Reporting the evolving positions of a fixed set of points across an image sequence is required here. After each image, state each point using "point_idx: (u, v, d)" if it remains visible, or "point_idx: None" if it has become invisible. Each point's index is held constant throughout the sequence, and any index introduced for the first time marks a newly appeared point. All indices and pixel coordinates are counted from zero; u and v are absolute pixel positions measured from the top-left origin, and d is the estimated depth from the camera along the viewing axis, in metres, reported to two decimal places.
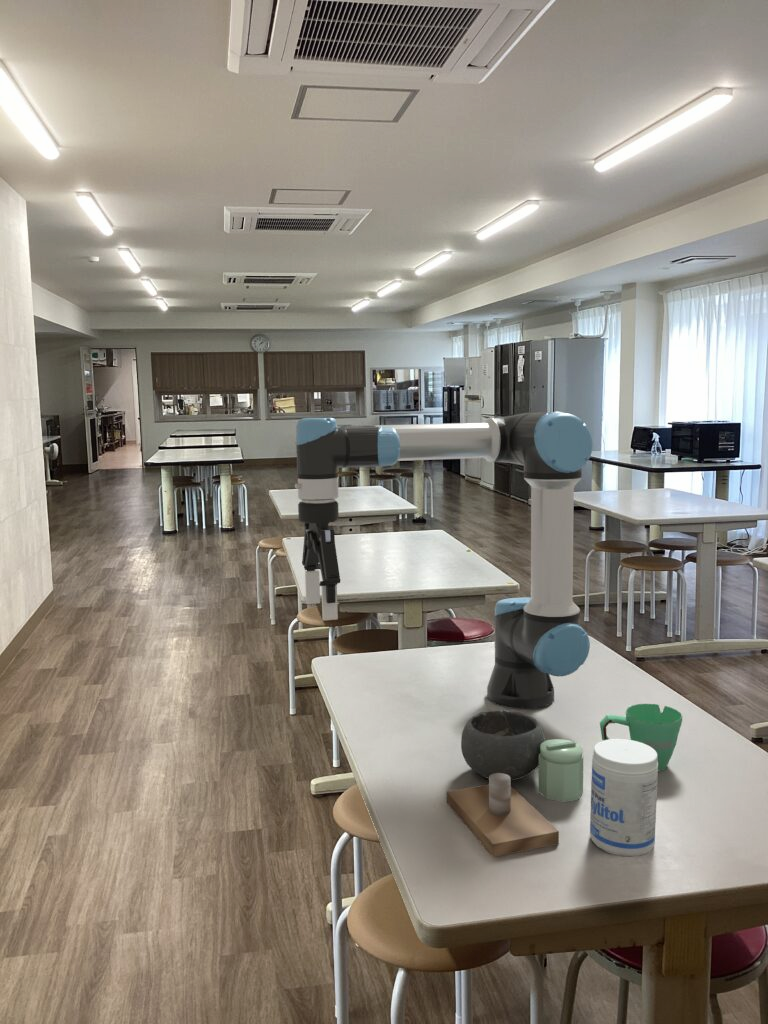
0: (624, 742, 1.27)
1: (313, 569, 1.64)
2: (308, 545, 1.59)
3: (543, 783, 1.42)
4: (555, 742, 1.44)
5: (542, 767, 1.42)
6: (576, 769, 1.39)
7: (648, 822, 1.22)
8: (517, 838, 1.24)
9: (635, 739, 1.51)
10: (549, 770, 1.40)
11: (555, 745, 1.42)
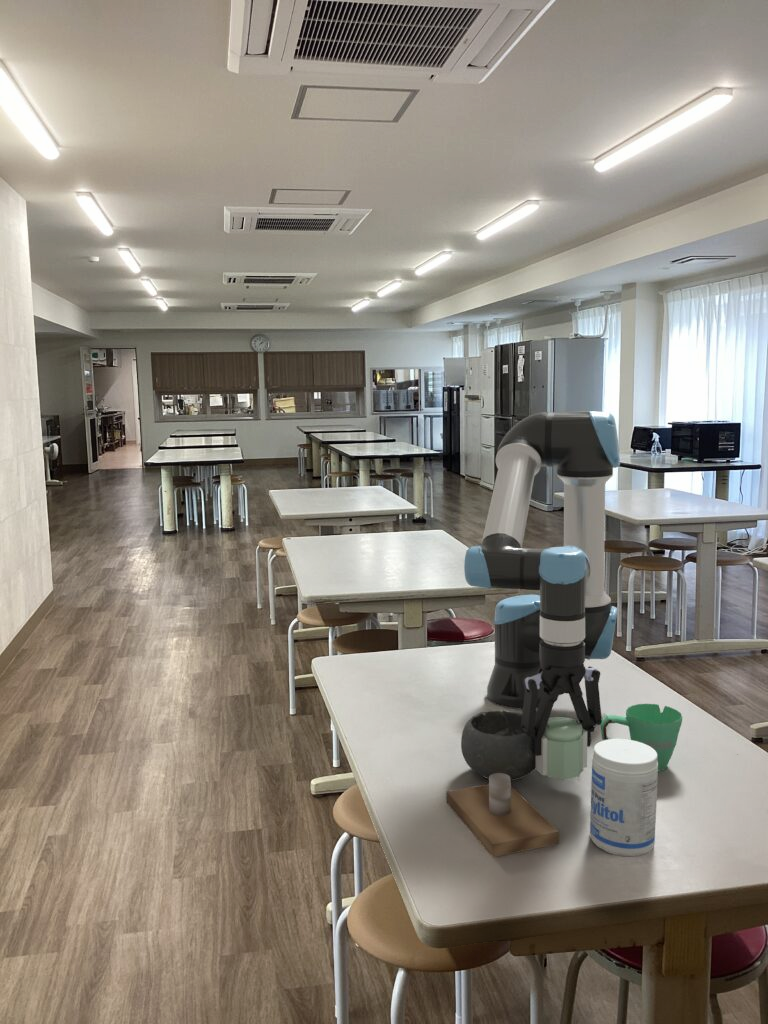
0: (624, 742, 1.27)
1: (583, 727, 1.43)
2: None
3: None
4: (555, 720, 1.44)
5: None
6: (576, 747, 1.40)
7: (648, 822, 1.22)
8: (517, 838, 1.24)
9: (635, 739, 1.51)
10: (549, 747, 1.40)
11: (555, 723, 1.42)
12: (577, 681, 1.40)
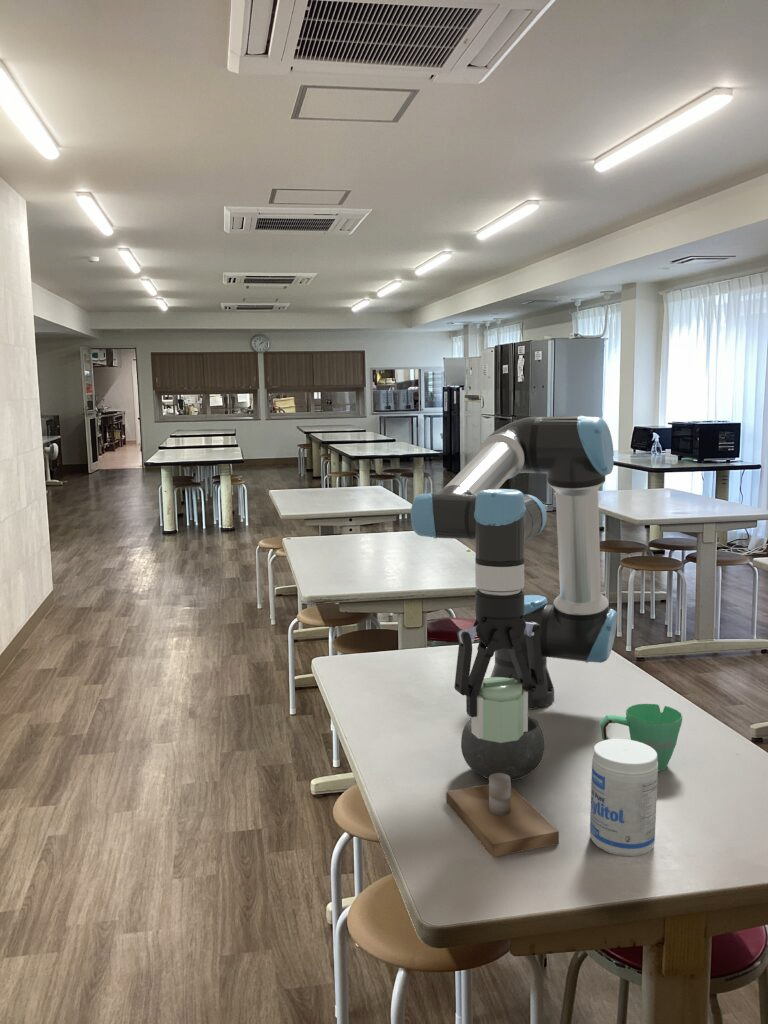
0: (624, 742, 1.27)
1: (524, 687, 1.31)
2: None
3: None
4: (494, 680, 1.32)
5: None
6: (514, 707, 1.28)
7: (648, 822, 1.22)
8: (517, 838, 1.24)
9: (635, 739, 1.51)
10: (485, 707, 1.28)
11: (493, 682, 1.30)
12: (516, 635, 1.28)
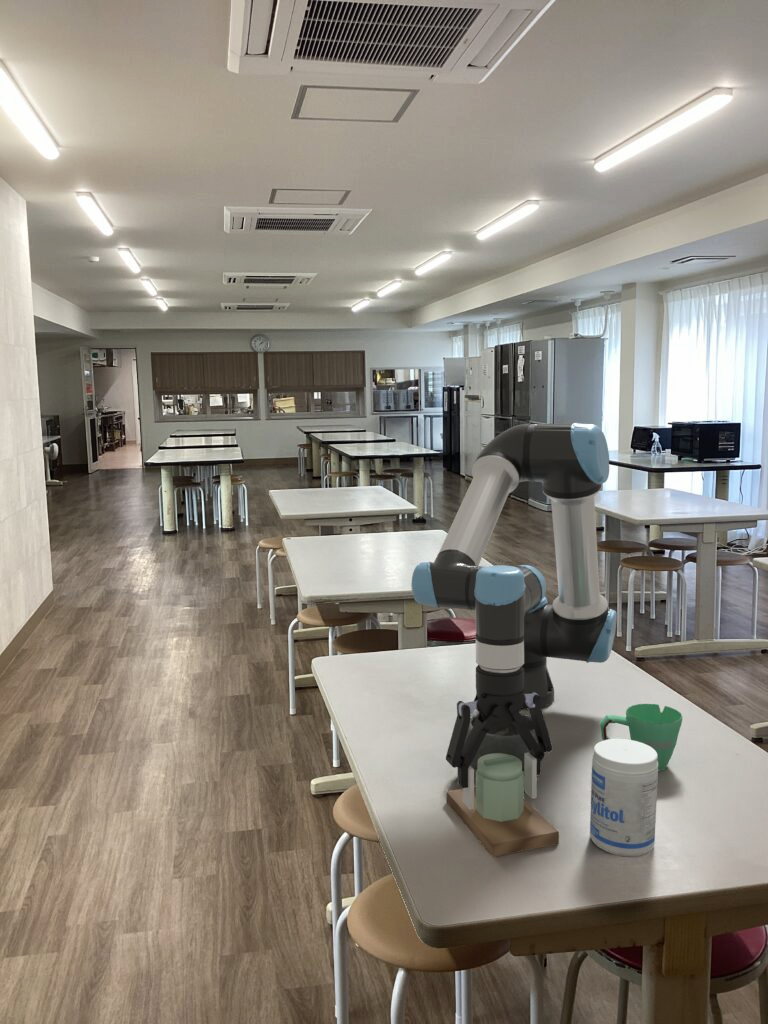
0: (625, 742, 1.27)
1: (533, 754, 1.33)
2: None
3: (480, 801, 1.31)
4: (494, 756, 1.34)
5: (479, 784, 1.31)
6: (515, 786, 1.29)
7: (648, 822, 1.22)
8: (517, 838, 1.24)
9: (635, 739, 1.51)
10: (485, 787, 1.30)
11: (493, 760, 1.31)
12: (516, 710, 1.29)
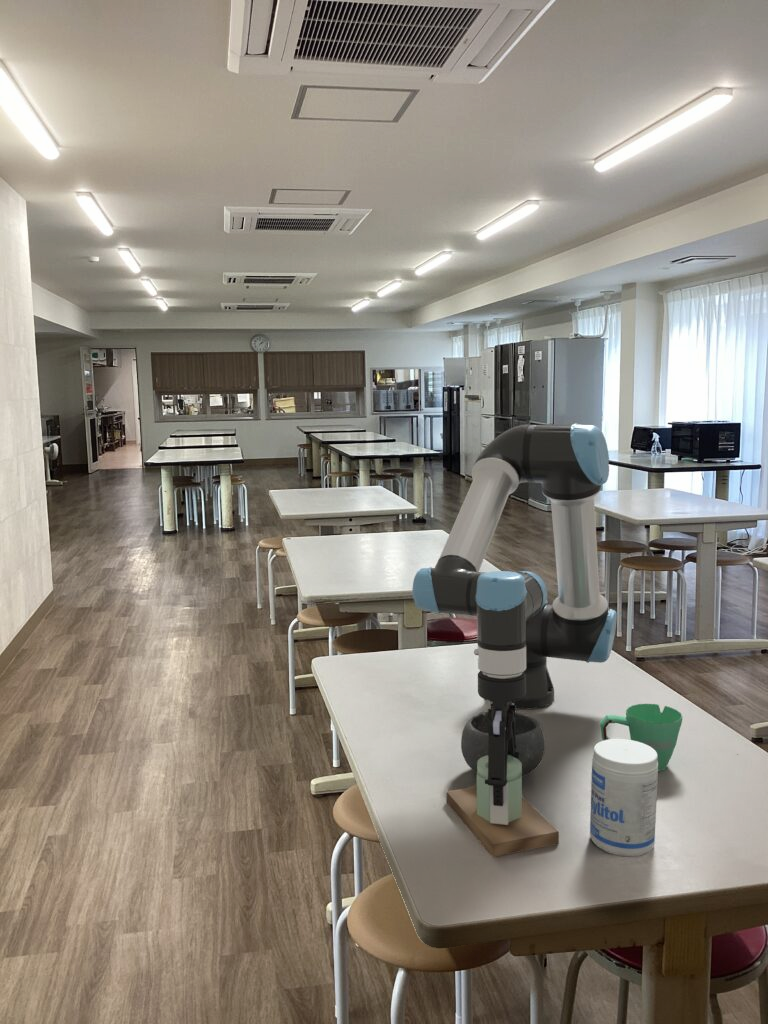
0: (624, 742, 1.27)
1: None
2: None
3: (484, 805, 1.30)
4: None
5: (482, 788, 1.30)
6: (519, 785, 1.30)
7: (648, 822, 1.22)
8: (517, 838, 1.24)
9: (635, 739, 1.51)
10: None
11: None
12: (515, 710, 1.32)
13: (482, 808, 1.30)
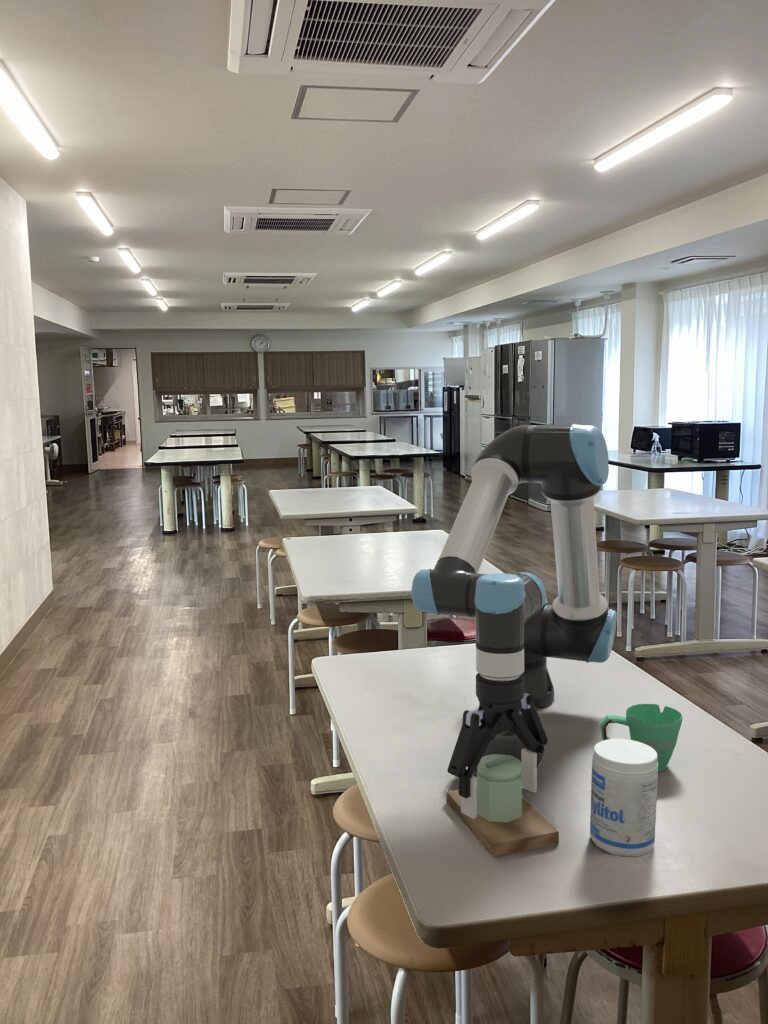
0: (624, 742, 1.27)
1: (532, 750, 1.36)
2: None
3: (484, 805, 1.30)
4: (490, 758, 1.33)
5: (482, 787, 1.30)
6: (519, 785, 1.30)
7: (648, 822, 1.22)
8: (517, 838, 1.24)
9: (635, 739, 1.51)
10: (491, 789, 1.29)
11: (494, 762, 1.31)
12: (517, 714, 1.31)
13: (482, 808, 1.31)
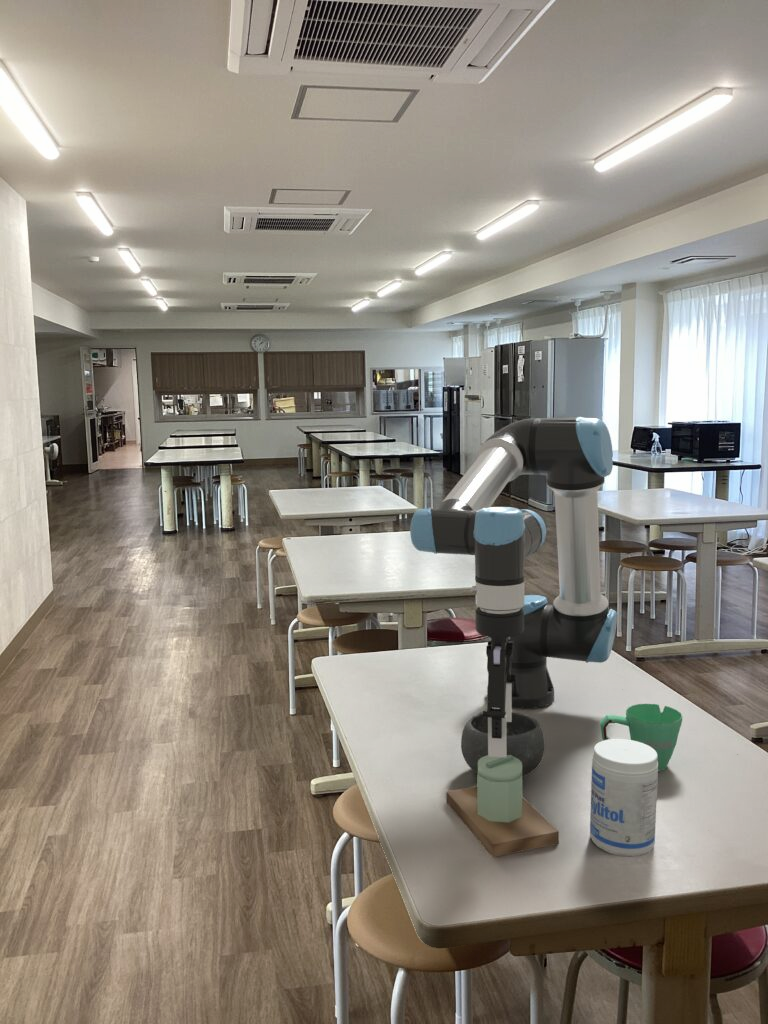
0: (624, 742, 1.27)
1: (505, 681, 1.38)
2: None
3: (484, 805, 1.30)
4: (491, 758, 1.33)
5: (483, 788, 1.30)
6: (519, 785, 1.30)
7: (648, 822, 1.22)
8: (517, 838, 1.24)
9: (635, 739, 1.51)
10: (492, 789, 1.29)
11: (495, 762, 1.31)
12: None
13: (483, 808, 1.30)
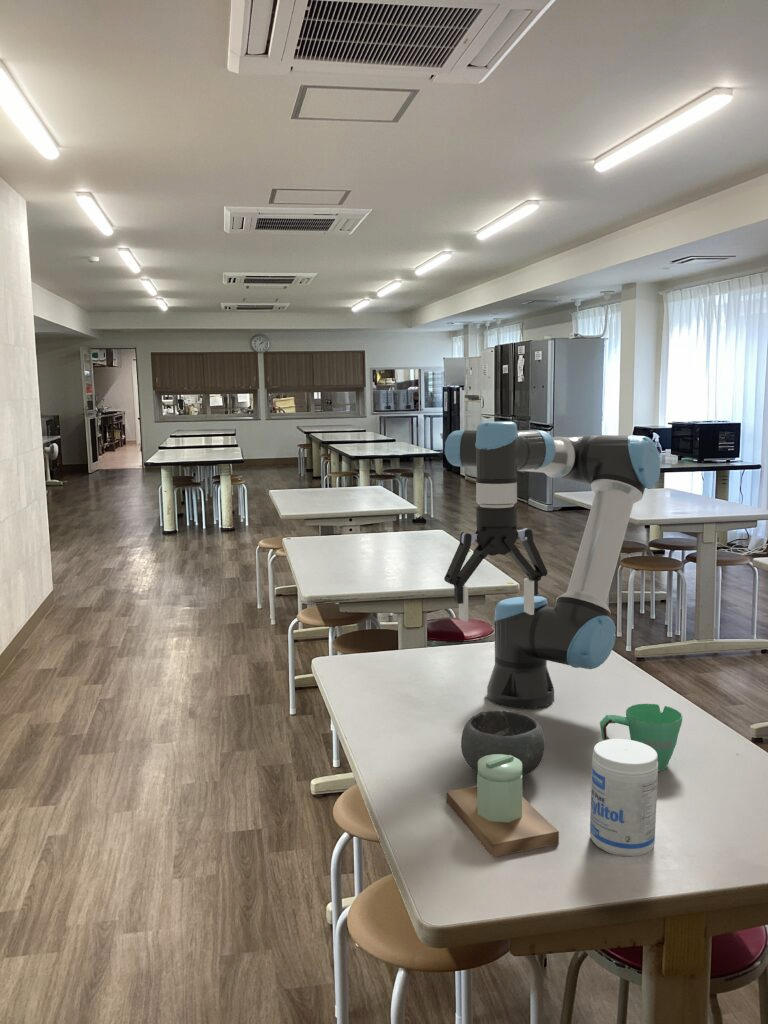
0: (624, 742, 1.27)
1: (531, 578, 1.58)
2: None
3: (484, 805, 1.30)
4: (491, 758, 1.33)
5: (483, 788, 1.30)
6: (519, 785, 1.30)
7: (648, 822, 1.22)
8: (517, 838, 1.24)
9: (635, 739, 1.51)
10: (492, 789, 1.29)
11: (495, 762, 1.31)
12: (510, 541, 1.54)
13: (483, 808, 1.30)
